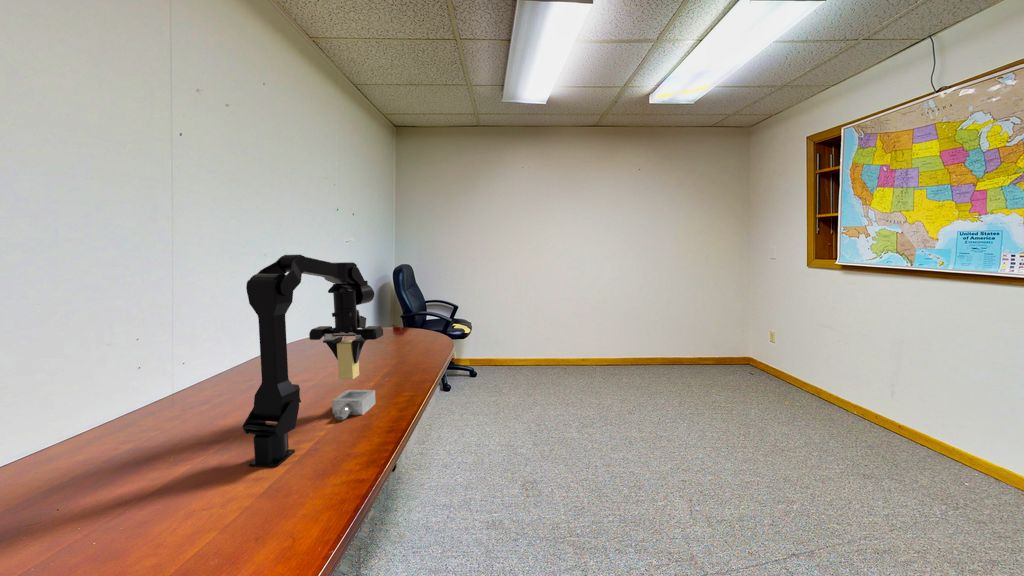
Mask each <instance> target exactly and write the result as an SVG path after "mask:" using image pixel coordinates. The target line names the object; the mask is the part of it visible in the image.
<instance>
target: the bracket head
mask: <svg viewBox="0 0 1024 576" xmlns="http://www.w3.org/2000/svg"><path fill="white" fill-rule="evenodd" d="M376 404H377V403H376V389H375V390H374V389H369V388H364V389H346V390H345V391H343V392H341V393H340V394H339V395H338V396H336V397H335V398H334V399H331V405H332V406H331V408H332V415H334V417H335V419H336V420H337V421H338V422H339V421H340V422H343V421H344V420H345V419H347V418H348V417H349V416H350V415H351V416H364V415H365V414H366V413H367V412H368V411H369V410H370V409H372V408H373V407H374V405H376Z"/></svg>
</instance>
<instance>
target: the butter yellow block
mask: <svg viewBox="0 0 1024 576" xmlns="http://www.w3.org/2000/svg"><path fill="white" fill-rule="evenodd" d="M353 340H354V339H351V340H342V342H340V343H337V355H338V360H337V370H338V380H354V379H356V378H357V377H358V376H360V361H359V359H360V358H359V359H358V362H357V363H354V359H353V348H352V341H353Z"/></svg>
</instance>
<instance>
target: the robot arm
mask: <svg viewBox="0 0 1024 576" xmlns="http://www.w3.org/2000/svg"><path fill="white" fill-rule="evenodd" d="M303 274H304V275H309V276H316V277H321V278H324V280H325V281H327V282H330V283H331V284H332V285H331V287H330V288H329V289H328V291H327V292H328V294H332V296H333V310H334V312H332V313H331V316H332V318H334V327H333V326H331V325H328V326H325V325H324V326H321V325H320V326H317V327H314V328H312V329H310V330H309V333H308V337H309V341H320V340H322V338H324V339H323V340H322V343H324V344H326V345H327V347H328V348H329V349H330V351H331V353H332V354H333V355H334V357H335V359H336V360H337V361H338V355H337V343H340V342H342V341H343V337H354V338H355V339H352V340H353V341H352V348H353V359H354V363H357V362H358V359H360V356H361V352H362V349H363V348H364V344H365V343H366V342H367V341H374V340H378V339H379V338H382V337H383V336H384V329H383V327H382V326H381V325H368V326H366V325H367V317H365V316H363V315H361V314H360V310H359V309H358V308H357V306H359V305H364V304H367V303H371V302H372V301H373V299H374V297H375V291H374V289H373V287H372V286H370V285H369V284H368V283H369V282H368V280H365V279H364V277H363V275H362V273H361V271H360V268H359V267H358V265H357V264H356V263H355V262H344V261H343V262H331V261H326V260H321V259H317V258H313V257H308V256H305V255H303V254H284V255H282V256H280V257H279V258H277V260H276V261H275V262H273V263H271V264H269V265H267V266H265V267H264V268H262V269H260V270H259V271H258V272H257V273H256V274H254V275H252V276H251V277H250V278H249V279H248V280H247V282H246V293H247V298H248V303H249V306H251V308H252V309H253V311H254V312H255V314H256V315H257V319H258V332H259V333H258V336H259V350H260V351H259V352H260V353H259V354H260V355H259V356H260V371H261V384H260V385H259V387H258V388H257V390H256V392H255V394H254V398H253V406H252V408H251V410H250V412H249V414H248V416H247V418H246V419H245V421H244V423H243V424H242V427H241V428H242V430H243V432H244V434H245V435H248V434H249V435H254V436H253V450H254V458H253V459H252V460H250V461H249V462H248V463H247V464H248V466H249V467H278V466H279V465H281V464H282V463H283V462H284V461H286V460H287V459H288V458H290V457H291V456H292V455H293V454H295V453H296V449H293V448H292V449H291V448H290V445H289V434H288V433H289V432H291V431H293V430H294V429H296V426H297V420H298V415H299V410H300V403H301V402H302V400H301V396H300V393H301V392H300V391H301V387H300V384H295V383H294V384H293V383H292V382H291V381H290V378H289V365H288V346H287V345H288V344H287V326H286V324H287V323H286V322H287V321H286V314H287V312H288V310H289V309H290V307H291V305H292V303H293V297H294V291H295V290H296V288H297V287H298V286H299V285H300V284H301V282H302V275H303ZM271 422H273V423H271Z"/></svg>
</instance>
